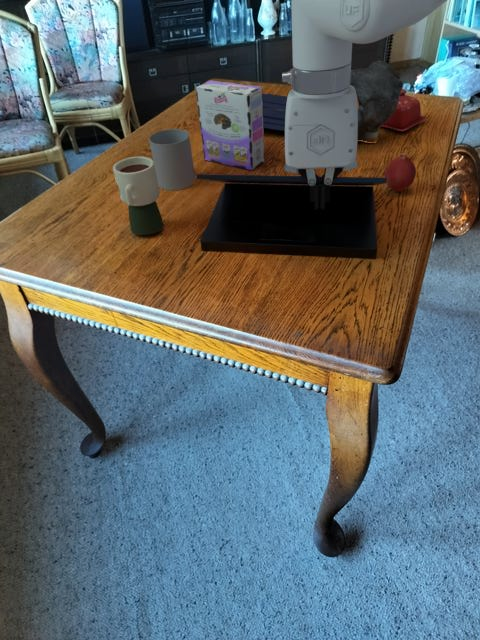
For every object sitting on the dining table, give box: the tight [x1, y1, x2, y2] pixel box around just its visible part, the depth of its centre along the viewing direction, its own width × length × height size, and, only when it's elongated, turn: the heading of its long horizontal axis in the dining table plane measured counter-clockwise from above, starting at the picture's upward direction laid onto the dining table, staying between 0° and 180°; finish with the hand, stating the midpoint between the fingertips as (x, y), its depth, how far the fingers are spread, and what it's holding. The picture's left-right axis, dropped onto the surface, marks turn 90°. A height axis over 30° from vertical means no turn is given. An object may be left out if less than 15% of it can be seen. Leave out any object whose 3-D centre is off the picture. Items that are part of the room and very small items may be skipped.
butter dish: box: [380, 88, 427, 132], centre depth 117 cm, size 12×12×8 cm
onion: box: [384, 152, 417, 193], centre depth 91 cm, size 6×6×8 cm
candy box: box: [194, 79, 265, 171], centre depth 104 cm, size 14×6×16 cm, turn 57°
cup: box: [148, 128, 196, 192], centre depth 100 cm, size 8×8×10 cm
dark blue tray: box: [262, 93, 288, 132], centre depth 126 cm, size 24×30×4 cm
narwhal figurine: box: [350, 60, 404, 142], centre depth 106 cm, size 14×15×18 cm
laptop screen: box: [195, 173, 387, 187], centre depth 84 cm, size 22×30×1 cm
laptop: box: [200, 182, 379, 260], centre depth 87 cm, size 22×30×2 cm
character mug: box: [112, 155, 165, 236], centre depth 85 cm, size 11×7×13 cm, turn 173°
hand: (319, 205), depth 74 cm, fingers closed
